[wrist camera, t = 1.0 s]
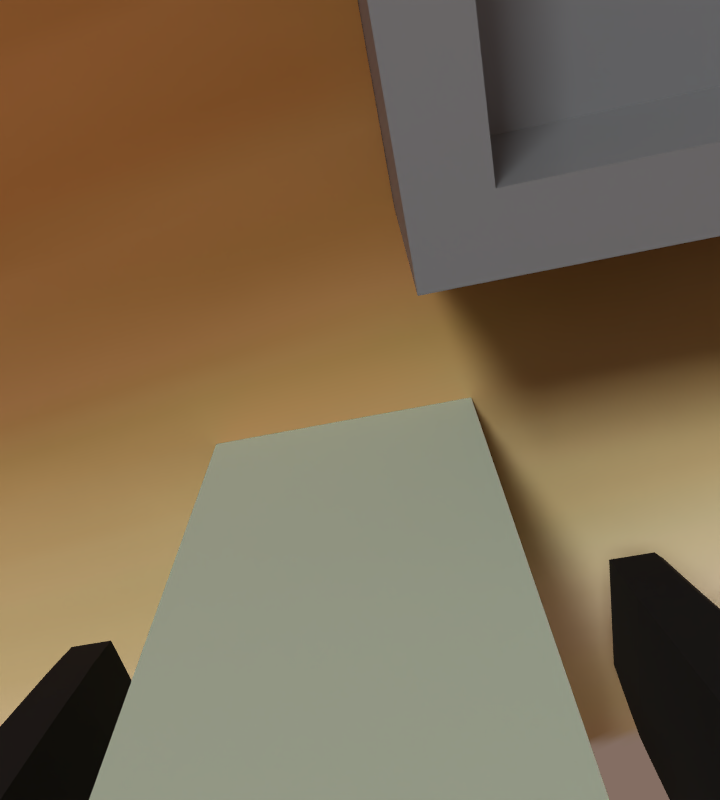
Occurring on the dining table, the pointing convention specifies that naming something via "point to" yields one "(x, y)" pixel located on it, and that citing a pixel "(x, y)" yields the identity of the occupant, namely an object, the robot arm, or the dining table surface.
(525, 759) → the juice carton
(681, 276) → the dining table surface
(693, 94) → the tote
